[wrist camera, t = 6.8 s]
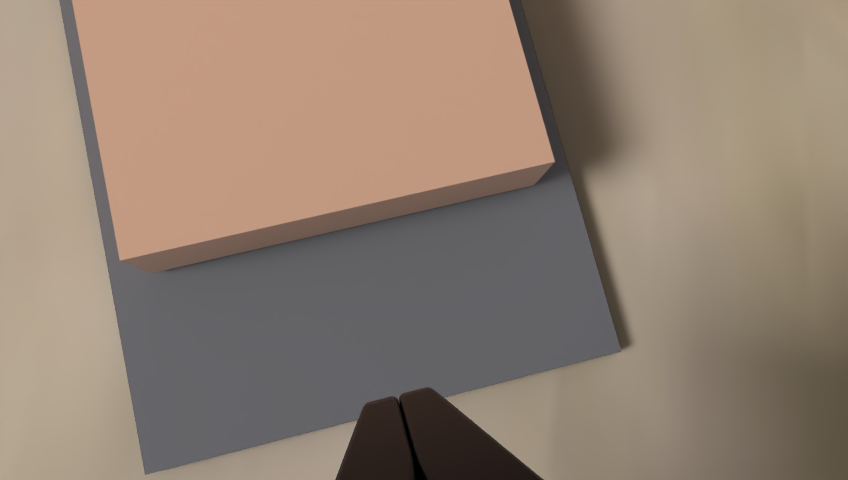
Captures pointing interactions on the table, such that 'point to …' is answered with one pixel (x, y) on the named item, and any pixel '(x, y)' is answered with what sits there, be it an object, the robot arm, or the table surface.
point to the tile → (300, 116)
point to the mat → (352, 309)
